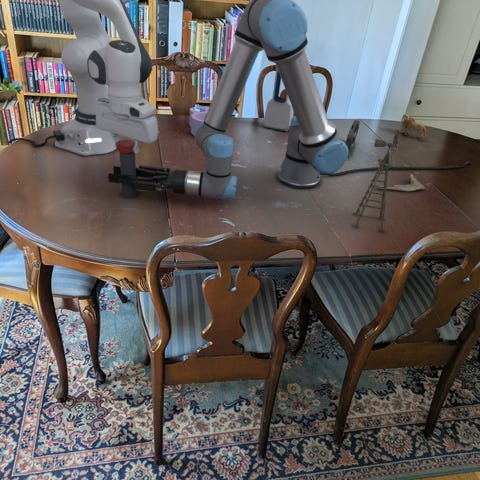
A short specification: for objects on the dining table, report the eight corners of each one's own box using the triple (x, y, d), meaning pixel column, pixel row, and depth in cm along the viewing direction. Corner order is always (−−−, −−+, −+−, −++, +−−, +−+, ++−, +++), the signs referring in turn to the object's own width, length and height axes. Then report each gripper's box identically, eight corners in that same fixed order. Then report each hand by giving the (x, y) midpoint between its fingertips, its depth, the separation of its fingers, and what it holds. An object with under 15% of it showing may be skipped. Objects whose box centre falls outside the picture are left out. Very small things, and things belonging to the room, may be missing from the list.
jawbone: (429, 189, 172) (431, 184, 171) (394, 201, 161) (396, 196, 160) (410, 177, 177) (412, 172, 176) (375, 189, 167) (376, 184, 165)
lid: (116, 152, 137) (115, 145, 136) (119, 145, 141) (119, 138, 140) (134, 153, 137) (134, 147, 136) (137, 146, 141) (137, 140, 140)
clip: (182, 123, 206) (183, 107, 202) (209, 122, 210) (210, 106, 207) (197, 140, 191) (197, 123, 187) (225, 138, 195) (226, 122, 191)
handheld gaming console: (349, 160, 187) (354, 136, 182) (342, 158, 188) (347, 134, 183) (355, 142, 206) (361, 119, 201) (349, 140, 207) (354, 118, 201)
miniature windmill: (382, 232, 141) (411, 137, 125) (354, 227, 142) (379, 132, 126) (381, 217, 149) (408, 126, 133) (354, 213, 150) (378, 122, 134)
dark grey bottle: (121, 191, 148) (117, 142, 139) (135, 189, 150) (133, 141, 141) (123, 197, 145) (120, 148, 136) (138, 196, 146) (135, 147, 137)
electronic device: (292, 127, 214) (303, 59, 198) (288, 132, 208) (299, 62, 192) (266, 122, 217) (275, 54, 201) (262, 127, 211) (270, 57, 194)
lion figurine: (395, 132, 222) (400, 114, 217) (400, 130, 225) (405, 112, 220) (425, 142, 214) (431, 123, 209) (429, 139, 218) (435, 120, 213)
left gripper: (88, 98, 133) (92, 144, 140) (147, 114, 126) (148, 161, 133) (103, 93, 138) (107, 138, 145) (161, 108, 130) (161, 155, 138)
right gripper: (181, 206, 138) (103, 197, 138) (190, 181, 153) (120, 173, 153) (181, 184, 134) (101, 174, 134) (191, 160, 149) (119, 151, 149)
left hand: (127, 149), depth 139 cm, fingers closed on lid, 5 cm apart
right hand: (111, 174), depth 144 cm, fingers closed on dark grey bottle, 5 cm apart
